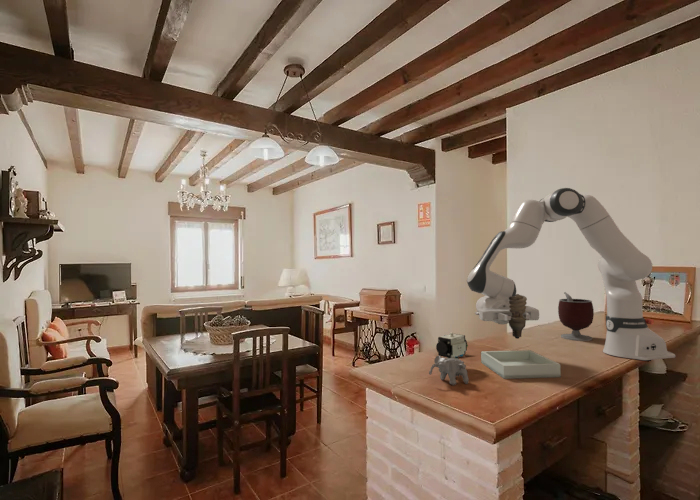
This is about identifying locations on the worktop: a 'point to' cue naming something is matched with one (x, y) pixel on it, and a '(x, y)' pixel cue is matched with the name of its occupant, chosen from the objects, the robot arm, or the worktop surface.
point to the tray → (520, 364)
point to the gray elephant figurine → (450, 369)
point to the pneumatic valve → (451, 345)
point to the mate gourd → (575, 316)
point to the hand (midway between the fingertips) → (518, 318)
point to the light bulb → (517, 314)
